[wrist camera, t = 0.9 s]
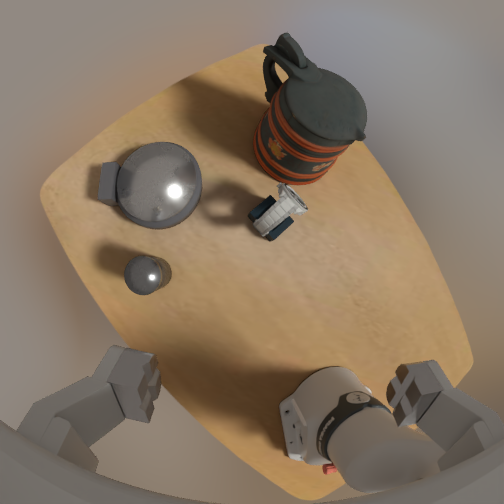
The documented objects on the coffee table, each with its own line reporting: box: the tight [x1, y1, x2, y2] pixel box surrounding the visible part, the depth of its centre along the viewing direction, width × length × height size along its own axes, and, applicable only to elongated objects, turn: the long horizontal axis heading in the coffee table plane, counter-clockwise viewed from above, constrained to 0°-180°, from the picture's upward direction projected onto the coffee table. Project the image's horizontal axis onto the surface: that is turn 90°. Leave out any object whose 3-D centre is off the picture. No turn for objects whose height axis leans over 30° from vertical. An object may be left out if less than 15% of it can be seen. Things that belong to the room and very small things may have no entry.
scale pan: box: [117, 142, 196, 222], centre depth 39 cm, size 13×13×1 cm
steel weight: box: [124, 256, 172, 295], centre depth 38 cm, size 5×5×9 cm
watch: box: [248, 183, 308, 241], centre depth 39 cm, size 6×8×11 cm
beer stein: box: [253, 33, 367, 185], centre depth 36 cm, size 19×15×20 cm
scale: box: [98, 142, 202, 229], centre depth 40 cm, size 14×16×5 cm
